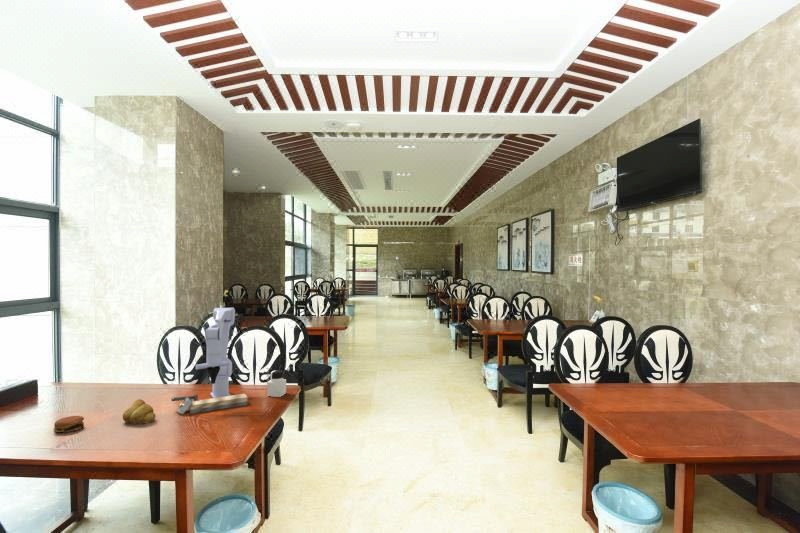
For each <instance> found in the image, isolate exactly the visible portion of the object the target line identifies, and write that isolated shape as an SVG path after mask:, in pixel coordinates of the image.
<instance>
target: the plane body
mask: <svg viewBox="0 0 800 533" xmlns="http://www.w3.org/2000/svg"><path fill="white" fill-rule="evenodd" d="M248 399H249V398H248V396H247V394H246V393H239V394H234V395H233V394H231V395H230V396H225V397H218V398H213V397H212V398H205V399H198V400H197V401H194V400H192V402H193V403H192V404H191V405H190V406H189V407H188V411H189V414H196V413H204V412H211V411H216V410H223V409H229V408H235V407H240V406H247V404H248V405H249V403H248V401H249V400H248Z"/></svg>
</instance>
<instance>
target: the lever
mask: <svg viewBox="0 0 800 533" xmlns="http://www.w3.org/2000/svg"><path fill="white" fill-rule="evenodd" d="M187 397H188V398H189V399H191V400H193V401H197V400H199V398H198V394H194V395H187V396H186V395H185V396H178V397H177V396H176V397H171V402H176V401H184V400H185V399H186V398H187Z"/></svg>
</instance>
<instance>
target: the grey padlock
mask: <svg viewBox="0 0 800 533" xmlns="http://www.w3.org/2000/svg"><path fill="white" fill-rule="evenodd" d="M266 386H267V387H266V389H267V390H266V391H267V392H266V396H267V397H268V396H271V397H270V398H282V397H283V396H284V395H285V394H286V393H287V379H286V378H285V379H284V371H283V370H280V369H278V370H272V371H271V372H270V380H269V381H268V382H267V385H266ZM281 396H282V397H281Z"/></svg>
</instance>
